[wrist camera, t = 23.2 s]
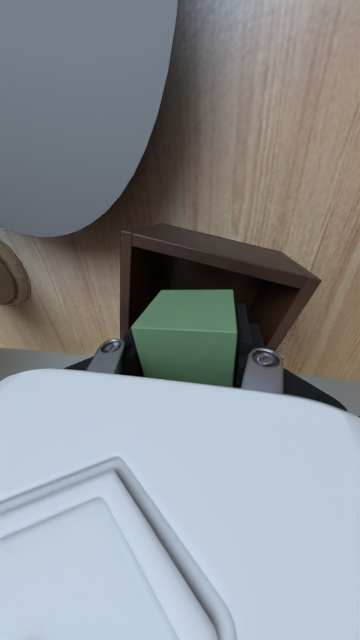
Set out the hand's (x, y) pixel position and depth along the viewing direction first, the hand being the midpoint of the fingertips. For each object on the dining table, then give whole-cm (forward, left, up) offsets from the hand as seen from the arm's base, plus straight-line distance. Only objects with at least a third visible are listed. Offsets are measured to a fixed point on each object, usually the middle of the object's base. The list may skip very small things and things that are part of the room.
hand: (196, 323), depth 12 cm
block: (0, 0, 0) cm, 0 cm away
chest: (-2, +2, -10) cm, 11 cm away
